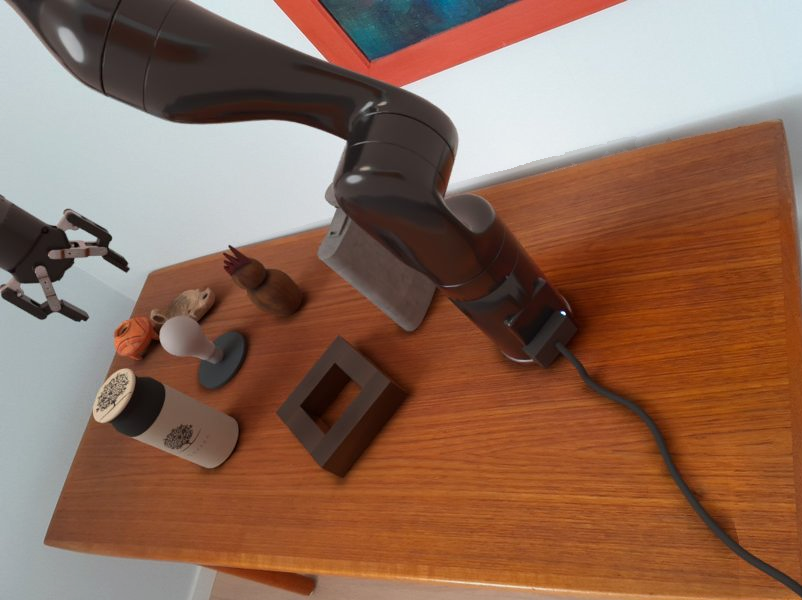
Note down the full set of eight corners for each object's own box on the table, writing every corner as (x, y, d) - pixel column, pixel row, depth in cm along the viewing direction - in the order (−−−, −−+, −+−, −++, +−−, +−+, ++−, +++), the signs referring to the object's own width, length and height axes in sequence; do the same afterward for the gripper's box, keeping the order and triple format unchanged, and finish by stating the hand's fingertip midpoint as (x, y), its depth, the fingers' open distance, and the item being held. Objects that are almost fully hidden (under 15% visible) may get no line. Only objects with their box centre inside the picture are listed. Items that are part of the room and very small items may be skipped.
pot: (125, 353, 124) (99, 330, 119) (161, 327, 125) (136, 303, 121) (134, 374, 118) (107, 350, 113) (171, 346, 119) (146, 322, 115)
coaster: (255, 349, 104) (252, 348, 103) (214, 400, 103) (211, 398, 103) (232, 323, 110) (229, 322, 110) (193, 370, 110) (190, 369, 109)
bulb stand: (409, 394, 83) (390, 381, 80) (342, 478, 82) (320, 468, 79) (356, 348, 92) (338, 334, 89) (295, 423, 91) (275, 412, 88)
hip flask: (430, 233, 95) (343, 138, 80) (454, 230, 92) (368, 131, 78) (400, 331, 89) (298, 248, 74) (424, 330, 86) (325, 244, 72)
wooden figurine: (311, 285, 104) (240, 229, 93) (304, 316, 101) (230, 263, 90) (280, 294, 107) (208, 242, 96) (272, 325, 104) (197, 274, 93)
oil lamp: (224, 287, 117) (202, 272, 113) (217, 322, 113) (194, 307, 109) (174, 310, 123) (151, 296, 119) (165, 344, 118) (141, 331, 115)
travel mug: (198, 436, 101) (91, 389, 88) (236, 407, 99) (133, 354, 86) (203, 479, 96) (90, 435, 82) (243, 449, 94) (134, 399, 81)
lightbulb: (240, 342, 106) (185, 308, 98) (225, 377, 103) (167, 345, 95) (217, 341, 109) (162, 308, 101) (202, 375, 107) (144, 344, 99)
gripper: (-51, 281, 76) (79, 345, 88) (30, 186, 77) (148, 262, 89) (-55, 259, 82) (68, 322, 93) (21, 170, 82) (133, 244, 94)
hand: (107, 292), depth 91 cm, fingers open, 8 cm apart
